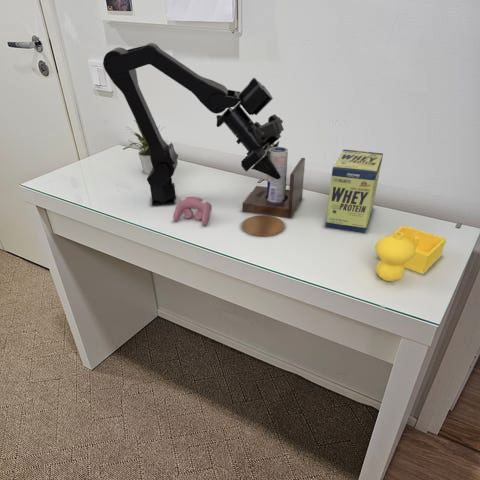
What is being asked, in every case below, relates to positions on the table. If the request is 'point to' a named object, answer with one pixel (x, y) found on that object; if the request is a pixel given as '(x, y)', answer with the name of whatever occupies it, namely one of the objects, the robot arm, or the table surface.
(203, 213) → the video game controller
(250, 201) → the can rack
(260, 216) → the cork coaster
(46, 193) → the table surface
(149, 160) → the house plant
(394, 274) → the bath set
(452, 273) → the table surface
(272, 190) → the beverage can
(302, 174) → the panel
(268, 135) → the robot arm
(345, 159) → the protein box
